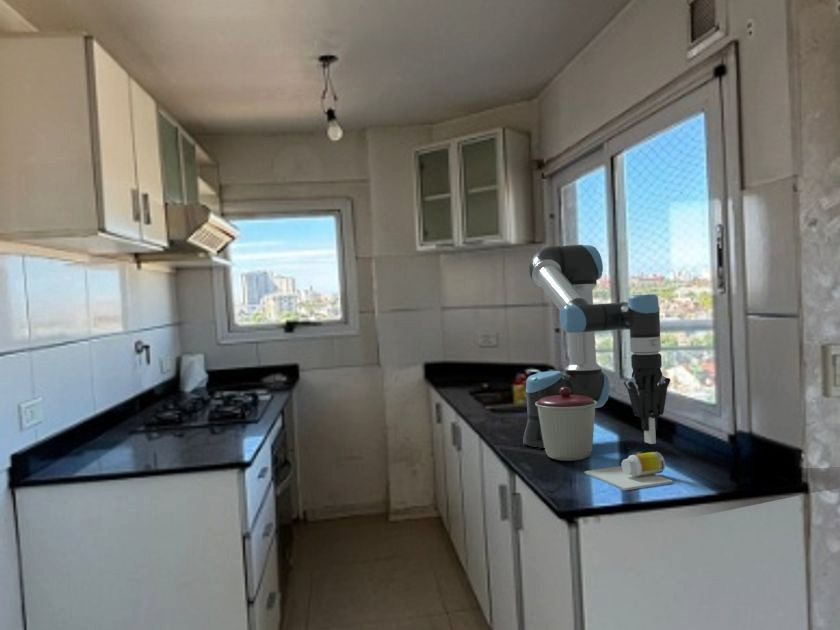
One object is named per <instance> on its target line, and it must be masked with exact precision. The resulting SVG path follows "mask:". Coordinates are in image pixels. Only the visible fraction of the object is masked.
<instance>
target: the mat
mask: <svg viewBox="0 0 840 630" xmlns="http://www.w3.org/2000/svg"><path fill="white" fill-rule="evenodd" d="M584 474H585V475H587V476H590V477H592V478H594V479H597V480H598V481H600V482H604V483H606V484H608V485H610V486H612V487H615V488H617V489H620V490H622V491H623V492H624V491H630V490H631V491H632V490H638V489H644V488H651V487H656V486H663V485H668V484H669V485H670V484H674V481H673V480H671V479H669V478H667V477H663V476H661V475H659V474H658V475H657V474H652V475H645V476H639V477H634V476H632V475H626V474H625V473H624V472H623V470H622V466H621V465H619V466H612V467H606V468H598V469H592V470H586V471H585V470H584Z"/></svg>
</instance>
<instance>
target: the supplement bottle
mask: <svg viewBox="0 0 840 630" xmlns="http://www.w3.org/2000/svg"><path fill="white" fill-rule="evenodd" d="M620 466H622V470H623V472H624V473H625V474H626V475H632V476H634V477H639V476H645V475H652V474H656V475H657V474H658V475H659V474H662V473H663V472H664V470H665V468H666V461H665V458H664V456H663V455H662V454H661V452H658V451H651V452H645V453H643V452H642V453H637V454H632V455H629V456H628V457H627V458H625V459H622V461H621V465H620Z"/></svg>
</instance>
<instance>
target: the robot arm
mask: <svg viewBox="0 0 840 630" xmlns="http://www.w3.org/2000/svg"><path fill="white" fill-rule="evenodd" d="M528 272H529V273H528V274H529V277H530V279H531V281H533V284H534V285H536V286H538V287H539V288H542V290H543V291H544V292H545V293H546V294H547V296H548V297H549V298H550V300H551V301H552V302H553V303H554V305H555V306H556V307H557V309H558V311H560V312H559V323H560V326H561V330H563V332H565V333H567V340H568V356H569V357H568V359H569V364H568V366H566V367H565V374H562V371H559V370H551V371H548V370H547V371H543V372H538V373H535V374H532V375H529V376H528V377H527V378H526V379H525V380H526V381H525V383H526V384H525V385H526V387H525V393H526V410H527V423H526V427H525V430H524V433H523V434H524V435H523V437H522V438H523V441H522V442H523V444H524V443H525V444H527V445H530V446H533V447H539V448H538V449H541V448H544V443H543V438H542V432H541V426H540V420H539V413H538V407H537V406H536V405H535V403H536V402H537V401H539V400H540V399H541V398H544V397H548V396H554V395H560V393H559V390H560V388H562V387H569V388H570V389H571V395H582V396H587V397H590V398H592V399H593V400H595V401H597V405H595V409H597V408H602V407H603V406H604V405H605V404H606V402H607V401H608V400H609V395H610V390H611V389H610V386H611V385H610V381H609V377H608V375H607V373H605V372H604V371H603V370H602V366H600V365H599V364H598V363H597V352H596V335H595V333H596V332H607V331H608V332H609V331H621V330H622V331H624V330H626V331H627V330H628V331H629V340H630V343H629V344H630V352H631V353H632V354H631V355H630V361H631V363H630V365H631V368H632V374H631V378H629V380H625V381H624V382H623V385H624V386H625V388H626V389H627V393H628V395H629V399H630V404H631V408H632V412H633V414H634V417H638V418H640V420H641V430H642V431H643V437H644V438H643V439H644V443H647V444H650V445H653V444H656V443H657V440H656V438H657V437H656V430H658V419H659V418H660V416H662V415H664V413H665V407H666V399H667V395H668V394H667V393H668V387H669V385H670V382H671V378H669V377H666V376H664V375H663V372H662V369H661V368H662V365H663V364H662V363H663V362H662V354H661V353H660V352H661V351H662V344H661V343H662V342H661V322H660V321H661V318H660V317H661V314H660V309H661V308H660V304H659V303H660V302H659V297H658V296H657V294H655V293H651V294H649V293H648V294H634V295H633V294H632V295H629V297H628V301H627V302H626V301H622V302H614V303H613V302H612V303H610V302H609V303H608V302H607V303H596V304H595V303H594V295H593V290H594V289H595V287H597V285H598V284H597V283H598V282H597V281H598V280H600V279H601V278H602V276H603V272H604V265H603V259H602V256H601V253H600V252H599V250H598V249H597V248H596V247H595V246H594V245H590V244H589V245H588V244H574V245H573V244H572V245H556V246H555V245H553V246H547V247H544V248H542V249H540V250H538V251H537V252H536V253H535V254H534V255H533V256H532V258H531V259H530V262H529V266H528Z"/></svg>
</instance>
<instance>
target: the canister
mask: <svg viewBox="0 0 840 630" xmlns="http://www.w3.org/2000/svg"><path fill="white" fill-rule="evenodd" d="M559 393H560V395H554V396H548V397H544V398H541V399H540V400H539V401H537V402H536V403H535V405H536V406H537V407H538V413H539V420H540V426H541V432H542V438H543V443H544V448H545V449H544V451H545V453H546V455H547V457H549V458H550V459H553V460H557V461H562V462H563V461H565V462H573V461H574V462H575V461H580V460H581V461H582V460H585V459H587V458H589V456H591V453H592V451H593V443H594V432H595V430H594V429H595V415H596V408H595V405H597V401H595V400H593V399H592V398H590V397H587V396H582V395H571V389H570V388H569V387H562V388H560V390H559Z"/></svg>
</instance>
